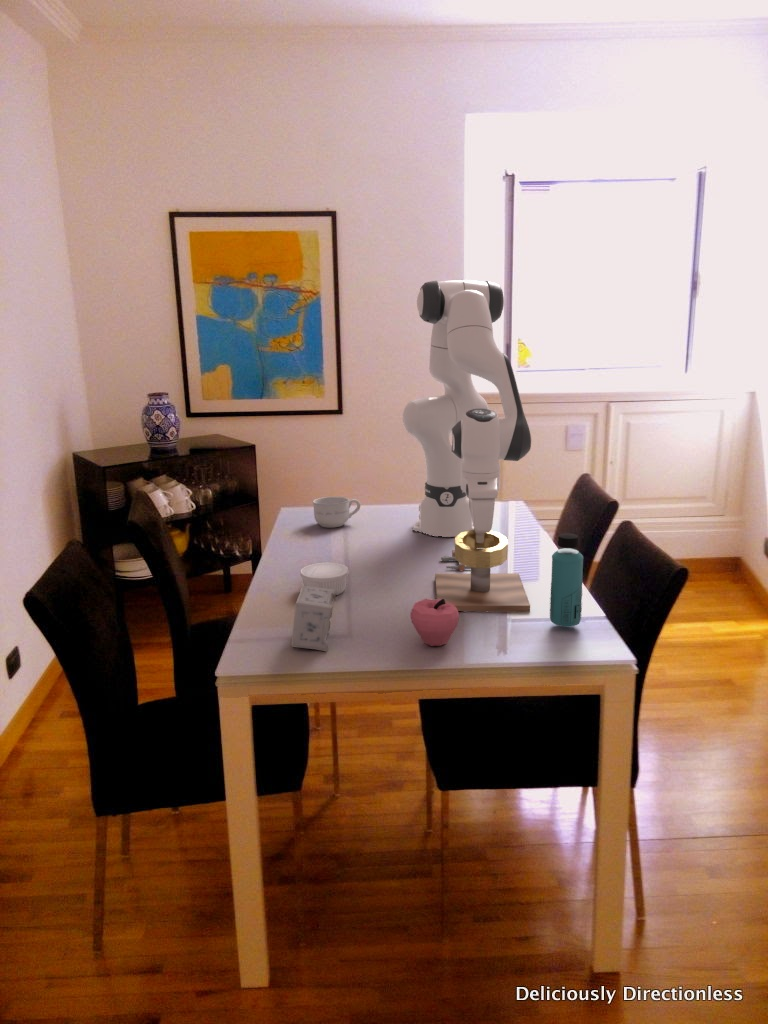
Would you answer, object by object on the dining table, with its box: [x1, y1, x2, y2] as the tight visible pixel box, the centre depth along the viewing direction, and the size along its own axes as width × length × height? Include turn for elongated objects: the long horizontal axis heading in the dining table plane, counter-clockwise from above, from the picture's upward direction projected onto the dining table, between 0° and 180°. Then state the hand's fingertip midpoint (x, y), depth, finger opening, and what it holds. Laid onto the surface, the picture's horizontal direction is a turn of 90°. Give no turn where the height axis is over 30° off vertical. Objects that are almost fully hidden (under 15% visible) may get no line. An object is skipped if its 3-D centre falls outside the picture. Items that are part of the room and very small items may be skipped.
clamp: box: [440, 549, 471, 571], centre depth 204 cm, size 15×2×10 cm
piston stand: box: [434, 567, 531, 613], centre depth 184 cm, size 20×20×8 cm
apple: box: [410, 598, 460, 647], centre depth 159 cm, size 10×9×10 cm
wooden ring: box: [454, 530, 509, 569], centre depth 182 cm, size 12×12×4 cm
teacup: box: [312, 496, 361, 528], centre depth 239 cm, size 14×11×8 cm
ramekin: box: [299, 561, 350, 596], centre depth 189 cm, size 11×11×5 cm
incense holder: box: [290, 585, 337, 652], centre depth 161 cm, size 10×8×10 cm
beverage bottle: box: [549, 532, 584, 627], centre depth 164 cm, size 6×7×20 cm
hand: (479, 539), depth 187 cm, fingers closed on wooden ring, 2 cm apart
